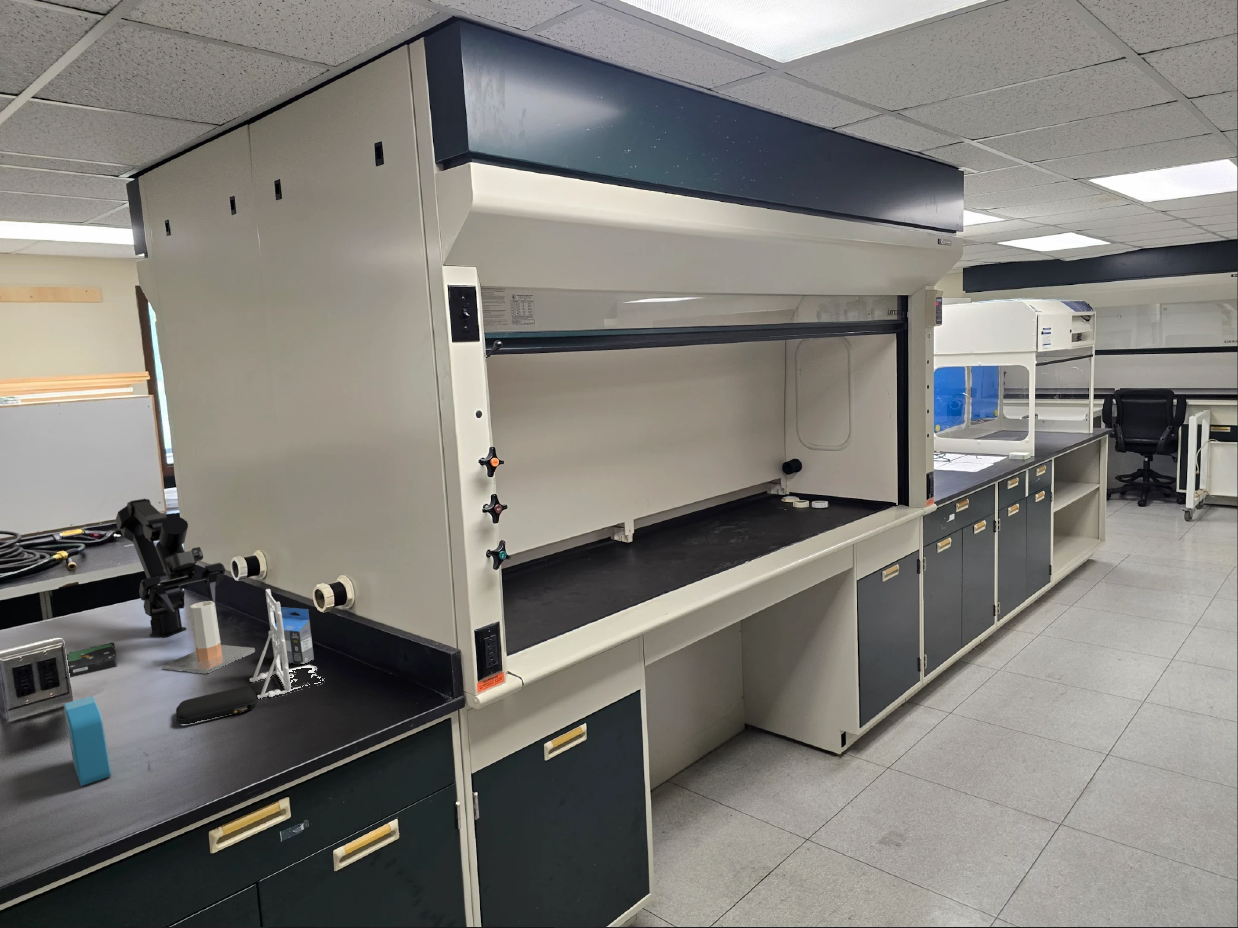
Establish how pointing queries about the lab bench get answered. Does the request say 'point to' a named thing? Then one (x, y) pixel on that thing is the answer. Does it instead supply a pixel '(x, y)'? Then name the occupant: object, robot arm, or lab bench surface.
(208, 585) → the robot arm
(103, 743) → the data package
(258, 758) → the lab bench surface
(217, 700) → the carrying case or bag
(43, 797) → the lab bench surface
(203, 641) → the sleeve
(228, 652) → the pin plate
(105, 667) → the disk drive
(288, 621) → the label tape cartridge
